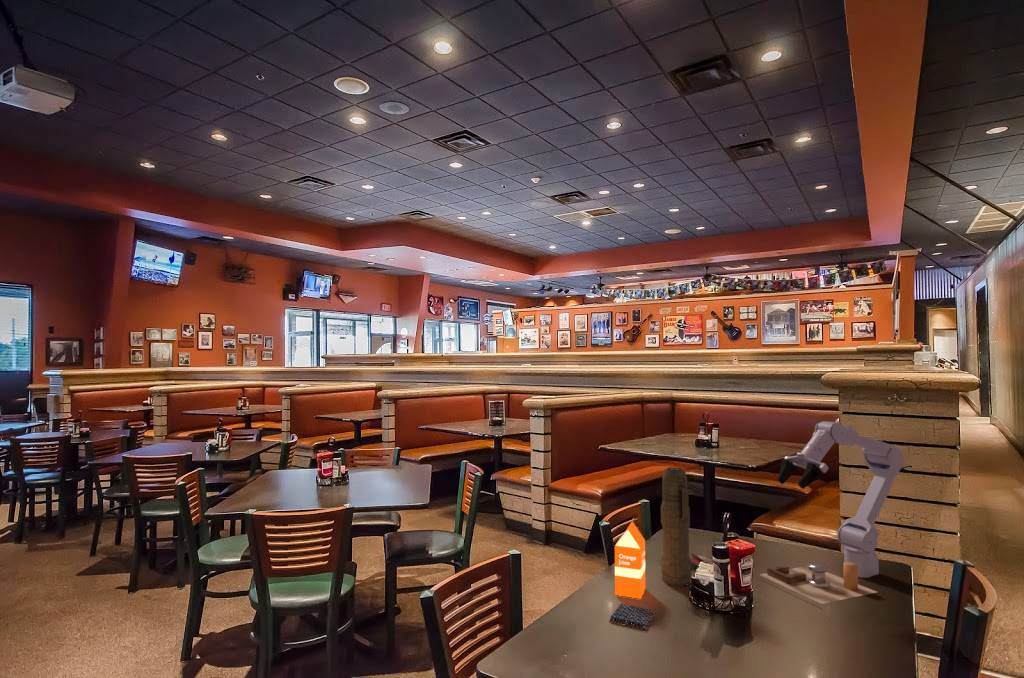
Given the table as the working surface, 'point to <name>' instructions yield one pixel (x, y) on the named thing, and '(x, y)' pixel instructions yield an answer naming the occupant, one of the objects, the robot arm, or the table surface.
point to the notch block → (781, 575)
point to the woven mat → (633, 616)
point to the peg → (850, 576)
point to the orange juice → (630, 564)
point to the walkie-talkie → (698, 560)
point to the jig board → (821, 594)
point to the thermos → (675, 528)
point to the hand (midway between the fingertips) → (790, 483)
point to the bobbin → (818, 575)
